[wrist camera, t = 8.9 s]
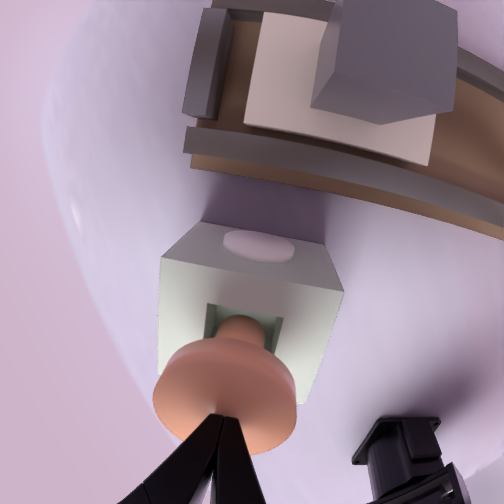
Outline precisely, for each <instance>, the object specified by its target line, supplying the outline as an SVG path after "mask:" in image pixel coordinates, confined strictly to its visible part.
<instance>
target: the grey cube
mask: <svg viewBox="0 0 504 504" xmlns="http://www.w3.org/2000/svg"><path fill="white" fill-rule="evenodd" d="M343 295H344V290H343V287H342V285H341V282H340V280H339V277H338V275H337V272H336V270H335V268H334V265H333V263H332V261H331V258H330V256H329V253H328V251H327V249H326V246H325V245H323V244H318V243H313V242H308V241H303V240H298V239H292V238H287V237H282V236H277V235H271V234H267V233H263V232H257V231H250V230H244V229H239V228H233V227H228V226H222V225H217V224H211V223H205V222H198V223H197V224H196V225H195V226H194V227H193V228H192V229H191V230H190V231H188V232H187V233H186V234H185V235H184V236H183V237H182V238H181V239H180V240H179V241H177V242H176V243H175V244H174V245H173V246H172V247H171V248H170V249H169V250H168V251H167V252H166V253H164V254H163V255H162V256H161V259H160V277H159V300H158V375H159V376H161V374H162V372H163V371H164V369H165V367H166V365H167V363H168V361H169V359H170V358H171V356H172V355H173V354H174V353H175V352H176V351H177V350H178V349H180V348H181V347H183V346H184V345H187V344H189V343H191V342H194V341H197V340H201V339H207V338H215V336H216V333H217V331H218V328H219V325H220V324H221V322H222V321H223V320H224V319H226V318H227V317H230V316H233V315H246V316H250V317H252V318H254V319H255V320H257V321H258V322H259V323H260V324H261V325H262V327H263V329H264V331H265V343H264V349H266V350H267V351H269V352H271V353H272V354H274V355H275V356H276V357H277V358H279V359H280V360H281V361H282V362H283V363H284V364H285V365H286V367H287V368H288V369H289V371H290V372H291V374H292V376H293V378H294V382H295V386H296V403H300V404H305V402H306V400H307V397H308V395H309V392H310V390H311V387H312V384H313V382H314V379H315V377H316V374H317V371H318V369H319V366H320V363H321V360H322V358H323V355H324V352H325V349H326V347H327V344H328V341H329V338H330V335H331V332H332V329H333V326H334V323H335V320H336V317H337V314H338V311H339V308H340V304H341V301H342V298H343Z"/></svg>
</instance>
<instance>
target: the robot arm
mask: <svg viewBox="0 0 504 504" xmlns="http://www.w3.org/2000/svg"><path fill="white" fill-rule="evenodd" d="M440 423H441V421H440V418H438V417H434V418H382V419H380V420H378V421H377V422H376V424H375V425H374V427H373V428H372V430H371V431H370V433H369V435H368V436H367V438H366V439H365V441H364V442H363V444H362V445H361V447H360V448H359V449H358V451H357V452H356V454H355V455H354V457H353V458H352V464H353V465H367V466H368V471H369V477H370V483H371V488H372V494H373V501H372V502H370V503H367V504H471V500H470V496H469V493H468V490H467V488H466V485H465V483H464V480H463V478H462V476H461V474H460V473H459V471H458V470H457V468H456V467H455V465H454V464H453V462H451V463H449V464H447V465H446V467H444V464H443V462H442V459H441V455H442V452H441V449H440V447H439V444H438V442H437V439H436V437H435V434H434V432H435V430H436V429H437V428H438V426H439V425H440ZM212 473H213V475H212ZM211 477H212V483H211V499H210V504H266V502H265V499H264V496H263V493H262V490H261V487H260V484H259V481H258V478H257V475H256V472H255V469H254V466H253V463H252V460H251V457H250V454H249V451H248V448H247V444H246V441H245V438H244V435H243V432H242V428H241V425H240V422H239V419H238V418H235V417H230V416H225V417H224V416H223V415H220V414H215V413H210V414H209V415H208V416H207V417H206V418H205V419H204V420H203V421H202V422H201V423H200V425H199V426H198V427H197V428H196V429H195V430H194V431H193V432H192V433H191V434H190V435H189V436H188V437H187V438H186V439H185V440H184V441H183V442H182V443H181V444H180V445H179V447H178V448H177V449H176V450H175V451H174V452H173V453H172V454H171V455H170V456H169V457H168V458H167V459H166V460H165V461H164V462H163V463H162V464H161V465H160V466H159V467H158V468H157V469H156V470H155V471H153V473H151V474H150V475H149V476H148V477H147V478H146V479H145V480H144V481H143V483H141V484H140V485H139V486H138V487H137V488H136V489H134V490H133V491H132V492H131V493H130V494H129V495H128V496H126V497H125V498H124V499H123V500H122V501H120V502H119V503H117V504H202V501H203V498H204V496H205V493H206V491H207V488H208V486H209V483H210V480H211ZM452 489H453V491H452V492H450V493H447V492H448V491H450V490H452Z"/></svg>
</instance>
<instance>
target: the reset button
mask: <svg viewBox="0 0 504 504" xmlns="http://www.w3.org/2000/svg"><path fill="white" fill-rule="evenodd" d="M264 343H265V331H264V329H263V327H262V325H261V324H260V323H259V322H258V321H257V320H255V319H254V318H252V317H250V316H246V315H233V316H230V317H227V318H226V319H224V320H223V321H222V322H221V324H220V325H219V328H218V331H217V333H216V336H215V338H207V339H201V340H197V341H194V342H191V343H189V344H187V345H184V346H183V347H181V348H180V349H178V350H177V351H176V352H175V353H174V354H173V355H172V356H171V358H170V359H169V361H168V363H167V365H166V367H165V369H164V371H163V372H162V374H161V376H160V378H159V380H158V382H157V384H156V386H155V388H154V392H153V405H154V409H155V412H156V414H157V416H158V418H159V419H160V421H161V422H162V424H163V425H164V426H165V427H166V428H167V429H168V430H169V431H170V432H171V433H172V434H173V435H175V436H176V437H177V438H179V439H180V440H182V441H184V440H185V439H186V438H187V437H188V436H189V435H190V434H191V433H192V432H193V431H194V430H195V429H196V428H197V427H198V426H199V425H200V423H201V422H202V421H203V420H204V419H205V418H206V417H207V416H208V415H209V414H210V413H215V414H220V415H223V416H224V417H225V416H230V417H235V418H238V419H239V422H240V425H241V428H242V432H243V435H244V438H245V441H246V444H247V448H248V451H249V454H250V455H256V454H260V453H264V452H266V451H269V450H272V449H274V448H276V447H277V446H279V445H280V444H282V443H283V442H284V441H285V440H287V439H288V437H289V436H290V435H291V434H292V432H293V430H294V428H295V425H296V418H297V413H296V386H295V382H294V378H293V376H292V374H291V372H290V371H289V369H288V368H287V367H286V365H285V364H284V363H283V362H282V361H281V360H280V359H279V358H277V357H276V356H275V355H274V354H272V353H271V352H269V351H267V350H266V349H264Z"/></svg>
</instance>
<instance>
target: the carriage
mask: <svg viewBox="0 0 504 504" xmlns="http://www.w3.org/2000/svg"><path fill="white" fill-rule="evenodd" d="M457 46H458V26H457V11H456V10H454V9H452V8H450V7H448V6H446V5H443V4H441V3H439V2H437V1H435V0H336V1H335V4H334V7H333V9H332V12H331V15H330V18H329V20H328V22H324V21H319V20H314V19H309V18H304V17H298V16H292V15H285V14H278V13H271V12H264V15H263V20H262V25H261V30H260V35H259V40H258V46H257V51H256V56H255V61H254V67H253V72H252V77H251V83H250V88H249V94H248V100H247V105H246V111H245V117H244V122H243V123H244V124H246V125H247V126H248V127H255V128H261V129H267V130H273V131H279V132H284V133H290V134H295V135H300V136H305V137H310V138H315V139H319V140H324V141H328V142H333V143H337V144H341V145H345V146H349V147H353V148H357V149H361V150H365V151H369V152H373V153H376V154H380V155H383V156H387V157H390V158H394V159H397V160H401V161H404V162H407V163H410V164H417V165H424V166H428V161H429V156H430V150H431V145H432V139H433V132H434V125H435V118H436V114H439V113H444V112H450V111H453V108H454V98H455V87H456V73H457Z"/></svg>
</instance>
